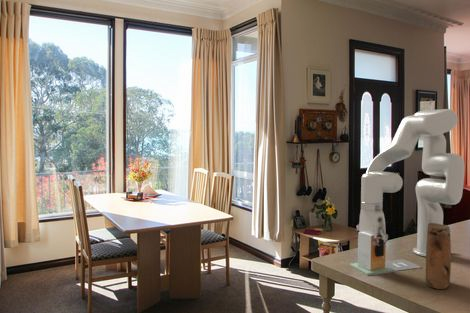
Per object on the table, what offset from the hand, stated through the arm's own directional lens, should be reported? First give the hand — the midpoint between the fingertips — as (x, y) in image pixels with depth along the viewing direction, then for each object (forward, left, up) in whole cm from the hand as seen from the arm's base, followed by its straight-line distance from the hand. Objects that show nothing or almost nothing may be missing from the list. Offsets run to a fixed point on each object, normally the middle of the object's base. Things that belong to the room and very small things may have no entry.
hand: (371, 252), depth 146 cm
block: (-11, +20, -6) cm, 24 cm away
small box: (0, 0, -6) cm, 6 cm away
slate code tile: (-13, 0, -6) cm, 14 cm away
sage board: (0, 0, -6) cm, 6 cm away
